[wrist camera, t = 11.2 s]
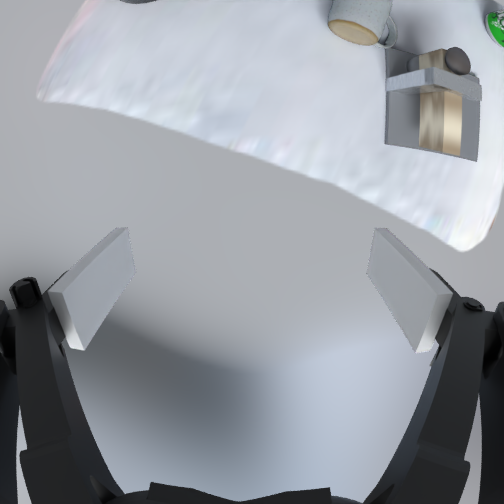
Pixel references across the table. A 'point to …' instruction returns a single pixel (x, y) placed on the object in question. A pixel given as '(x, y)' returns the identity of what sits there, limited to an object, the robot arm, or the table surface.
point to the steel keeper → (434, 83)
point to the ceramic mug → (362, 21)
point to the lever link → (442, 103)
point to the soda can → (496, 26)
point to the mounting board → (408, 111)
